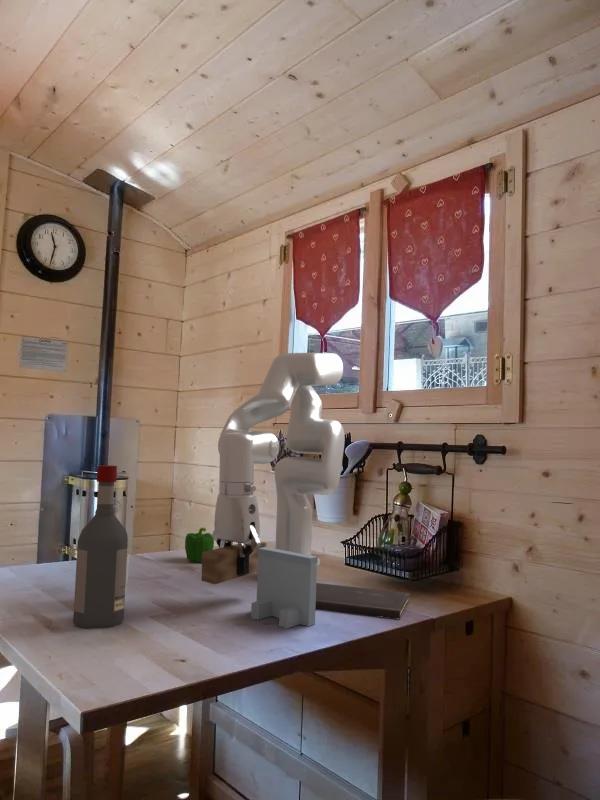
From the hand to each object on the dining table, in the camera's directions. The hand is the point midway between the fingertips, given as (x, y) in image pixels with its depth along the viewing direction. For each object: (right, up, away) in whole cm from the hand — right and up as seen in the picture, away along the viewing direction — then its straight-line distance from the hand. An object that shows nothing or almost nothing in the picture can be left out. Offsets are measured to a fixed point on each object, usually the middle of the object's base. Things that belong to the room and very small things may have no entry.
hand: (235, 571), depth 134 cm
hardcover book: (+26, -9, +4) cm, 28 cm away
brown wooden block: (0, -1, 0) cm, 1 cm away
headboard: (+10, -7, -11) cm, 16 cm away
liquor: (-25, -5, -16) cm, 30 cm away
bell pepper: (-15, -9, +43) cm, 47 cm away
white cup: (-27, -6, -2) cm, 28 cm away
